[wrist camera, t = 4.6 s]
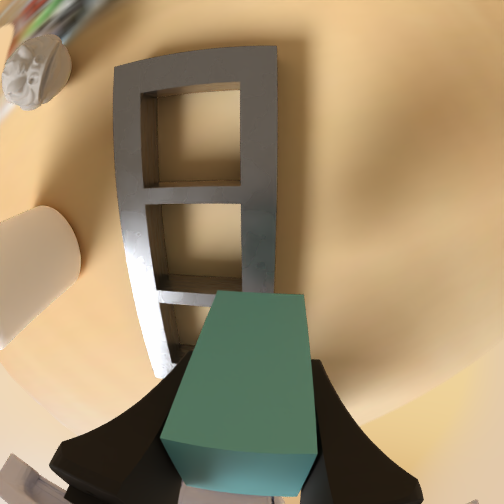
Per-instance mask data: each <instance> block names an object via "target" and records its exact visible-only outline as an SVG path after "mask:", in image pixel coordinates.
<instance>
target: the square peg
mask: <svg viewBox="0 0 504 504" xmlns="http://www.w3.org/2000/svg"><path fill="white" fill-rule="evenodd" d="M160 439H161V441H162V443H163V445H164V447H165V449H166V451H167V453H168V455H169V457H170V458H171V460H172V462H173V464H174V466H175V467H176V469H177V471H178V473H179V474H180V476H181V478H182V480H183V481H184V483H185V485H186V486H190V487H195V488H201V489H206V490H213V491H219V492H227V493H235V494H245V495H258V496H285V497H288V496H289V497H294V496H297V495H298V493H299V492H300V490H301V488H302V486H303V484H304V482H305V480H306V478H307V476H308V473H309V471H310V469H311V467H312V465H313V463H314V461H315V458H316V456H317V454H318V453H317V434H316V417H315V403H314V390H313V378H312V366H311V356H310V346H309V336H308V327H307V318H306V309H305V301H304V295H301V294H275V293H254V292H236V291H219V290H218V291H217V293H216V296H215V298H214V301H213V303H212V306H211V308H210V311H209V313H208V316H207V318H206V321H205V323H204V326H203V328H202V330H201V333H200V336H199V338H198V341H197V343H196V346H195V348H194V351H193V353H192V356H191V358H190V361H189V363H188V366H187V368H186V371H185V373H184V376H183V379H182V381H181V384H180V386H179V389H178V391H177V394H176V397H175V399H174V402H173V404H172V407H171V410H170V412H169V415H168V418H167V420H166V423H165V425H164V428H163V431H162V433H161V436H160Z"/></svg>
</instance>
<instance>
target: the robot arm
mask: <svg viewBox="0 0 504 504" xmlns="http://www.w3.org/2000/svg"><path fill="white" fill-rule="evenodd" d="M192 353H193V351H188V352H187V353H186V354H185V355H184V357H183V358H182V359H181V360H180V361H179V362H178V364H177V365H176V366H175V367H174V368H173V369H172V370H171V371H170V372H169V374H168V375H167V376H166V377H165V378H164V379H163V380H162V381H161V382H160V383H159V384H158V385H157V386H156V387H155V388H153V389H152V390H151V391H150V392H149V393H148V394H147V395H146V396H145V397H143V398H142V399H141V400H140V401H139V402H137V403H136V404H135V405H134V406H132V407H131V408H129V409H128V410H127V411H125V412H124V413H122V414H121V415H119V416H118V417H116V418H115V419H113V420H111V421H109V422H108V423H106V424H104V425H102V426H100V427H98V428H96V429H94V430H92V431H90V432H88V433H85V434H83V435H80V436H77V437H75V438H72V439H69V440H66V441H63V442H62V443H61V444H60V446H59V447H58V449H57V451H56V453H55V455H54V456H53V458H52V460H51V462H50V464H49V466H50V468H51V470H52V471H54V472H55V473H56V474H57V475H58V476H59V477H61V478H62V479H63V480H64V481H65V482H67V483H68V484H69V487H68V489H67V491H66V490H64V489H62V488H60V487H59V486H57V485H55V484H53V483H52V482H50V481H48V480H47V479H45V478H44V477H42V476H41V475H39V474H38V472H36V471H35V470H34V469H33V468H32V467H30V466H29V465H28V464H26V463H25V462H23V461H22V460H21V459H19V458H18V457H17V456H15V455H14V454H10V456H9V458H8V459H7V461H6V463H5V464H4V466H3V468H2V469H1V471H0V497H1V498H2V499H4V500H5V501H6V502H7V503H8V504H285V502H284V500H283V498H282V497H281V496H258V495H245V494H235V493H227V492H219V491H213V490H206V489H201V488H195V487H190V486H186V485H185V483H184V481H183V480H182V478H181V476H180V474H179V473H178V471H177V469H176V467H175V466H174V464H173V462H172V460H171V458H170V457H169V455H168V453H167V451H166V449H165V447H164V445H163V443H162V441H161V439H160V436H161V433H162V431H163V428H164V425H165V423H166V420H167V418H168V415H169V412H170V410H171V407H172V404H173V402H174V399H175V397H176V394H177V391H178V389H179V386H180V384H181V381H182V379H183V376H184V373H185V371H186V368H187V366H188V363H189V361H190V358H191V356H192ZM311 366H312V378H313V390H314V403H315V417H316V434H317V453H318V454H317V456H316V458H315V461H314V463H313V465H312V467H311V469H310V471H309V473H308V476H307V478H306V480H305V482H304V484H303V486H302V488H301V499H300V504H421V503H422V502H423V500H424V499H423V494H422V490H421V487H420V484H419V482H418V479H416V478H415V477H413V476H412V475H410V474H409V473H407V472H406V471H405V470H403V469H402V468H401V467H399V466H398V465H397V464H396V463H394V462H393V461H392V460H391V459H389V458H388V457H387V456H386V455H385V454H384V453H383V452H382V451H381V450H380V449H379V448H378V447H377V446H376V445H375V444H374V443H373V442H372V441H371V440H370V439H369V438H368V437H367V436H366V434H365V433H364V432H363V431H362V430H361V428H360V427H359V426H358V425H357V423H356V422H355V421H354V419H353V418H352V417H351V415H350V414H349V412H348V411H347V409H346V408H345V406H344V405H343V403H342V401H341V400H340V398H339V396H338V395H337V393H336V391H335V389H334V388H333V386H332V384H331V382H330V380H329V378H328V376H327V374H326V372H325V370H324V367H323V365H322V362H321V361H320V360H314V359H311ZM467 504H479V503H478V500H474V501H472V502H470V503H467Z"/></svg>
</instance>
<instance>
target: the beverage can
mask: <svg viewBox="0 0 504 504" xmlns="http://www.w3.org/2000/svg"><path fill="white" fill-rule="evenodd" d="M80 268H81V255H80V249H79V245H78V242H77V239H76V236H75V234H74V232H73V230H72V228H71V226H70V225H69V223H68V222H67V220H66V219H65V218H64V217H63V216H62V215H61V214H60V213H59V212H58V211H57V210H55V209H53V208H51V207H49V206H43V205H42V206H37V207H34V208H32V209H30V210H27V211H25V212H23V213H20V214H18V215H16V216H13V217H11V218H9V219H7V220H5V221H3V222H0V350H2V349H3V348H5V347H6V346H7V345H8V344H9V343H10V342H11V341H12V340H13V339H14V338H15V337H16V336H17V335H18V334H19V333H20V332H21V331H22V330H23V329H24V328H25V327H26V326H27V325H28V324H29V323H30V322H31V321H33V320H34V319H35V318H36V317H37V316H38V315H39V314H40V313H41V312H42V311H43V310H45V309H46V308H47V307H48V306H49V305H50V304H51V303H52V302H53V301H55V300H56V299H57V298H58V297H59V296H60V295H61V294H63V293H64V292H65V291H66V290H67V289H68V288H70V287H71V286H72V285H73V284H74V283H75V282H76V280H77V279H78V276H79V273H80Z"/></svg>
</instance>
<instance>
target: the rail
mask: <svg viewBox="0 0 504 504" xmlns="http://www.w3.org/2000/svg"><path fill="white" fill-rule="evenodd" d="M226 90H240V158H241V180H216V181H177V182H159V167H158V144H157V98H159V97H165V96H173V95H181V94H189V93H199V92H211V91H226ZM113 139H114V160H115V175H116V186H117V197H118V206H119V214H120V222H121V229H122V236H123V242H124V249H125V255H126V260H127V266H128V271H129V276H130V281H131V286H132V291H133V296H134V300H135V304H136V309H137V313H138V317H139V321H140V325H141V329H142V333H143V336H144V340H145V344H146V347H147V351H148V354H149V358H150V361H151V364H152V367H153V371H154V374H155V377H156V378H162V379H164V378H165V377H166V376H167V375H168V374H169V372H170V371H171V370H172V369H173V368H174V367H175V366H176V365H177V364H178V362H179V361H180V360H181V359H182V358H183V357H184V355H185V354H186V353H187V352H188V351H194V348H195V346H188V345H180V340H179V335H178V330H177V324H176V318H175V312H174V306H173V304H180V305H192V306H205V307H211V306H212V303H213V301H214V298H215V296H216V293H217V291H218V290H219V291H236V292H254V293H274V279H275V250H276V213H277V149H278V81H277V46H241V47H225V48H213V49H204V50H196V51H188V52H182V53H175V54H169V55H164V56H159V57H154V58H149V59H144V60H140V61H136V62H132V63H128V64H124V65H120V66H117V67H114V86H113ZM197 203H225V204H241V244H242V278H227V277H207V276H189V275H172V274H169V273H168V266H167V258H166V250H165V241H164V232H163V222H162V211H161V204H197Z"/></svg>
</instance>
